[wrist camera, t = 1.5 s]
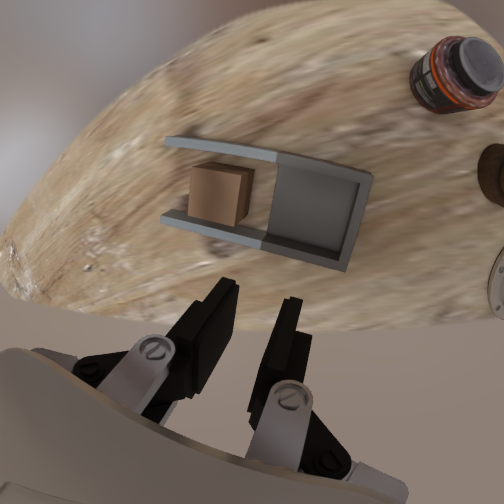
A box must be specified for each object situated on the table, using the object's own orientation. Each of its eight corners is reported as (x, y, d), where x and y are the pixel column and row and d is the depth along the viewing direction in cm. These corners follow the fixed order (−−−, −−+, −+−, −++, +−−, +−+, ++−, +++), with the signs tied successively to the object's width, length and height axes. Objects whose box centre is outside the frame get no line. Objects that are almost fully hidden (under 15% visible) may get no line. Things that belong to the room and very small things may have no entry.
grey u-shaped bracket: (370, 172, 25) (373, 175, 23) (344, 261, 29) (345, 272, 27) (177, 135, 29) (165, 136, 27) (171, 217, 34) (160, 223, 31)
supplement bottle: (468, 89, 18) (527, 75, 8) (441, 126, 21) (497, 126, 11) (425, 48, 18) (467, 10, 8) (397, 85, 21) (432, 56, 11)
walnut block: (254, 169, 28) (241, 175, 25) (247, 214, 31) (234, 226, 27) (211, 161, 29) (191, 166, 26) (206, 204, 32) (187, 215, 28)
